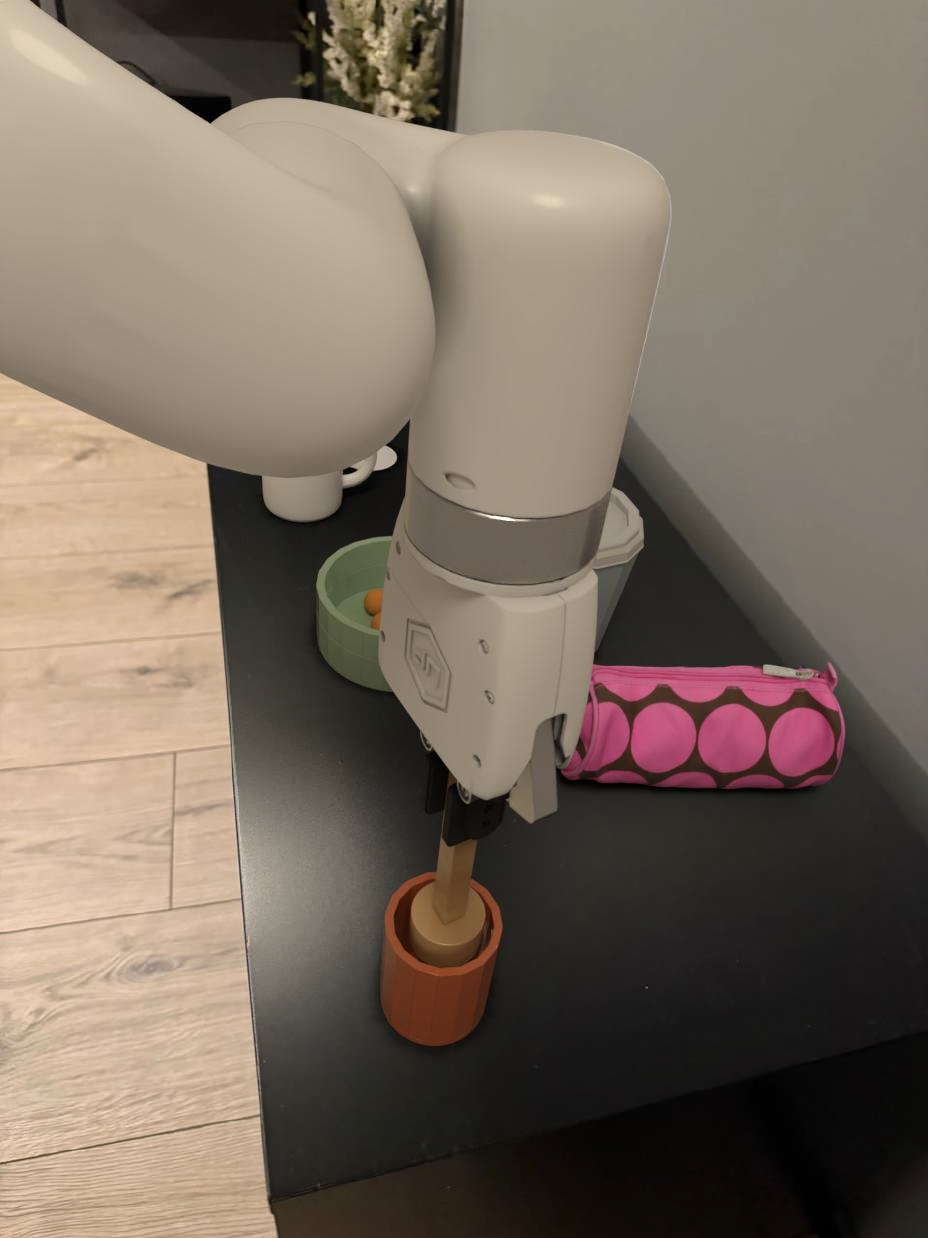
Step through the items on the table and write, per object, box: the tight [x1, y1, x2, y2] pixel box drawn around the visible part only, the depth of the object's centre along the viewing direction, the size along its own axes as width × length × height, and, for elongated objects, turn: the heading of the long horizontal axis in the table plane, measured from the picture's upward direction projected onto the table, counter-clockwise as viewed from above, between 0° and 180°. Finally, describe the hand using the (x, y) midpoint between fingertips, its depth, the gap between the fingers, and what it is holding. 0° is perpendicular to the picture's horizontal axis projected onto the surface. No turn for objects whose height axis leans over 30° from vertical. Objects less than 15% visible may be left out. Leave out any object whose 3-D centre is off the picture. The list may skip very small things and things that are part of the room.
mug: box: [261, 452, 377, 523], centre depth 95 cm, size 12×8×10 cm
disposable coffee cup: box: [592, 486, 645, 654], centre depth 79 cm, size 11×11×15 cm
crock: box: [379, 871, 504, 1047], centre depth 55 cm, size 7×7×8 cm
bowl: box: [315, 535, 394, 693], centre depth 81 cm, size 14×14×6 cm
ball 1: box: [364, 589, 383, 615], centre depth 83 cm, size 2×2×2 cm
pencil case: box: [559, 661, 846, 790], centre depth 71 cm, size 21×10×10 cm, turn 97°
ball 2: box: [371, 612, 381, 630], centre depth 81 cm, size 2×2×2 cm
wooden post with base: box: [409, 770, 486, 968], centre depth 48 cm, size 4×4×16 cm
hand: (460, 815), depth 46 cm, fingers closed on wooden post with base, 1 cm apart
